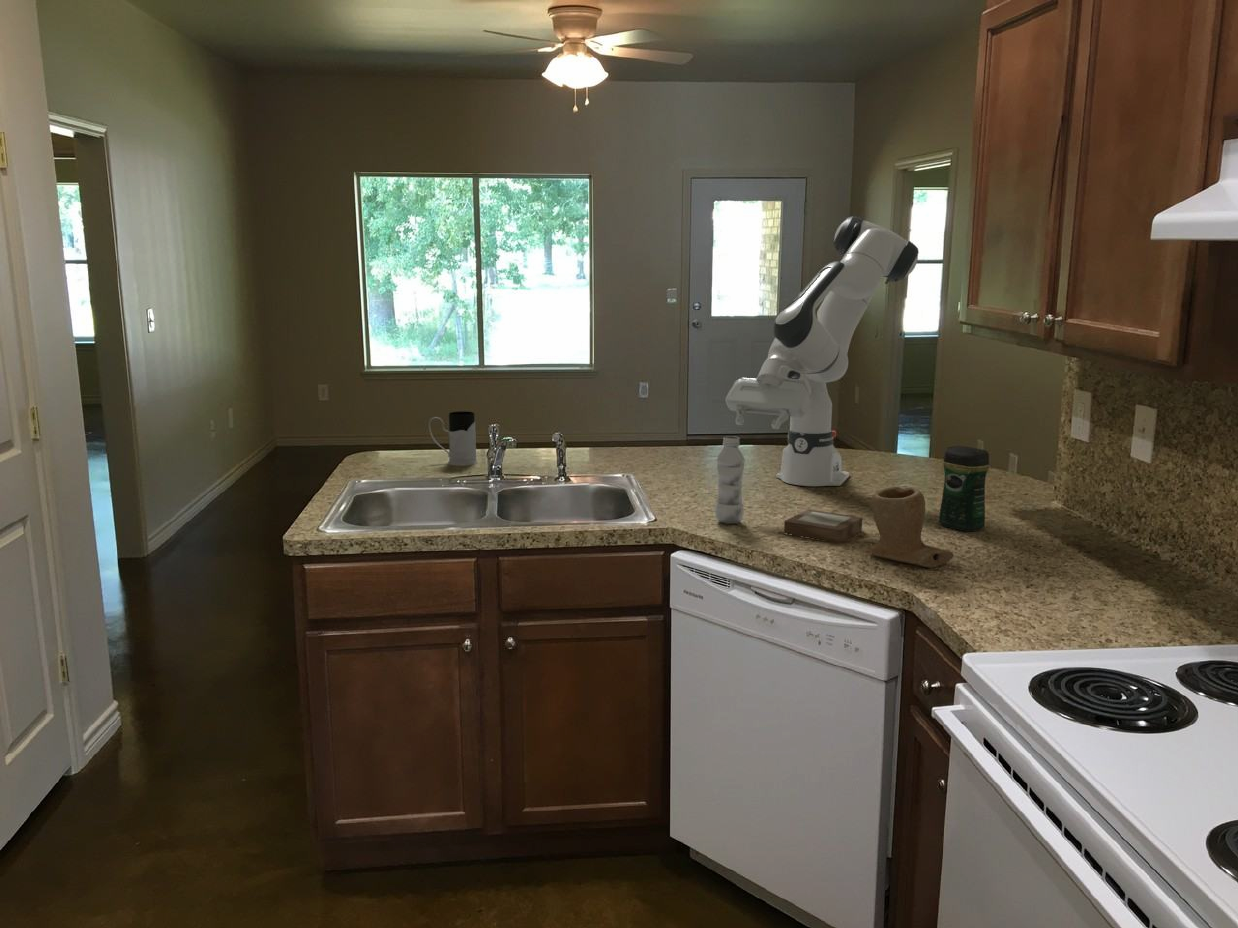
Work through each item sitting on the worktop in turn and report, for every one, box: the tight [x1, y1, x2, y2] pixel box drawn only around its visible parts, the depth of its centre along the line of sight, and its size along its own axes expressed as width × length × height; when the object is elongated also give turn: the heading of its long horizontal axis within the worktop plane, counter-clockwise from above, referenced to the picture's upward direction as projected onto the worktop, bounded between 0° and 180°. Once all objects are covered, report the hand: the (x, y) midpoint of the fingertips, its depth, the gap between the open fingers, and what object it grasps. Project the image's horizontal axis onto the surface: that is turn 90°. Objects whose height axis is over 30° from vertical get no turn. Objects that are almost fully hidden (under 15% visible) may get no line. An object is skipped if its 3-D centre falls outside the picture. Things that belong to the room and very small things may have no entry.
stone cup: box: [868, 486, 954, 569], centre depth 195 cm, size 15×12×15 cm
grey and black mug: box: [428, 410, 479, 467], centre depth 290 cm, size 9×14×15 cm, turn 89°
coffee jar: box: [938, 445, 990, 532], centre depth 221 cm, size 10×8×19 cm
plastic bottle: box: [714, 435, 746, 525], centre depth 223 cm, size 6×7×20 cm
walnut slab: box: [783, 508, 863, 544], centre depth 217 cm, size 13×13×3 cm
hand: (756, 425), depth 230 cm, fingers open, 8 cm apart
